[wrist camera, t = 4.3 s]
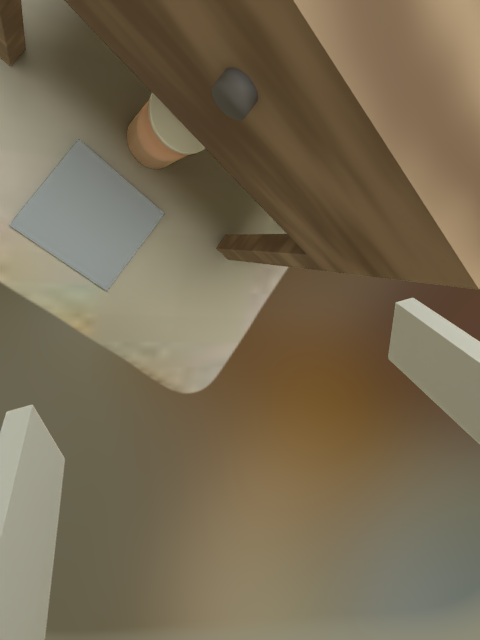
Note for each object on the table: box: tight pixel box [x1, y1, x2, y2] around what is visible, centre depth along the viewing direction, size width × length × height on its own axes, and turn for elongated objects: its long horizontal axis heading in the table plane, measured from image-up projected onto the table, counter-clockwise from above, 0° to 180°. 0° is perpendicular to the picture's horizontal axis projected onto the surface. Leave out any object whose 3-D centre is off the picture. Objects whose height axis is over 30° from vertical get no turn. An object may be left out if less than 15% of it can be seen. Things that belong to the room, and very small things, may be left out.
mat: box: [9, 139, 165, 291], centre depth 36 cm, size 10×10×1 cm
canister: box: [127, 93, 206, 169], centre depth 33 cm, size 6×6×10 cm
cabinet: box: [0, 0, 480, 289], centre depth 25 cm, size 19×28×29 cm
